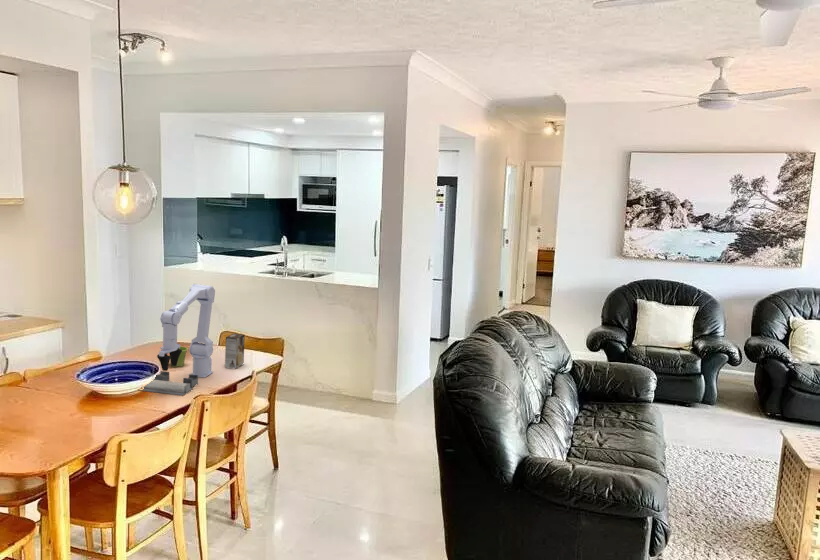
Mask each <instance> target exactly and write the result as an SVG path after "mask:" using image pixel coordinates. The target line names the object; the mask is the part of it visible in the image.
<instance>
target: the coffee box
mask: <svg viewBox="0 0 820 560" xmlns="http://www.w3.org/2000/svg"><path fill="white" fill-rule="evenodd" d="M245 337H246V336H245V334H241V333H231V334H229V335H227V336H226V337H225V351H224V352H225V354H224V357H225V358H224V368H225V367H230V368H229V369H232V368H237V367H238V366H240V365H242V364H243V363H244V362H245ZM244 364H245V363H244ZM244 364H243V365H244ZM243 365H242V366H243ZM240 367H241V366H240ZM237 369H238V368H237Z"/></svg>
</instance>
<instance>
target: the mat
mask: <svg viewBox="0 0 820 560" xmlns="http://www.w3.org/2000/svg"><path fill="white" fill-rule="evenodd" d="M191 390H192V391H193V390H194V388H193V387H192V388H190V392H192V391H191ZM142 392H146V393H147V392H148V393H157V394H165V395H173V396H180V395H184V396H186V395H187V394H189V393H190V392H189V391H188V392H189V393H188V392H187V394H186V393H182V392H173V391H165V390H157V389H148V388H144V389H143V391H142ZM185 394H186V395H185Z"/></svg>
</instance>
